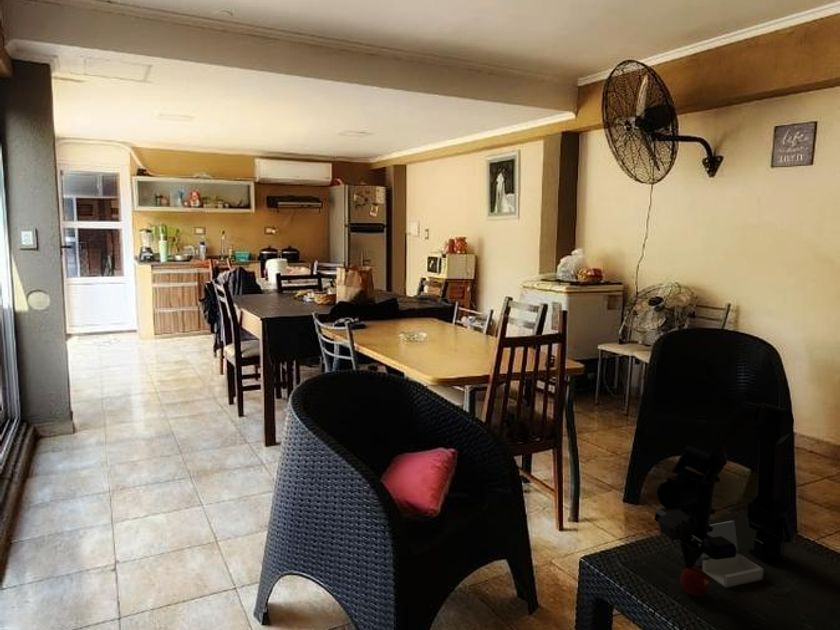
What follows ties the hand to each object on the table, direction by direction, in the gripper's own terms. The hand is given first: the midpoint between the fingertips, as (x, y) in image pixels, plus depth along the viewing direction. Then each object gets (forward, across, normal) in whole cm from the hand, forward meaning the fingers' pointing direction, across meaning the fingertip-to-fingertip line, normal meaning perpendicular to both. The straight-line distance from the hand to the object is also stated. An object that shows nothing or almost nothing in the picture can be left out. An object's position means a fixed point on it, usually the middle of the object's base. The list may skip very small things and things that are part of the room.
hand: (688, 567), depth 136 cm
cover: (-2, -6, +15) cm, 16 cm away
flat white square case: (+5, -3, +15) cm, 16 cm away
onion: (+4, -2, +1) cm, 5 cm away
